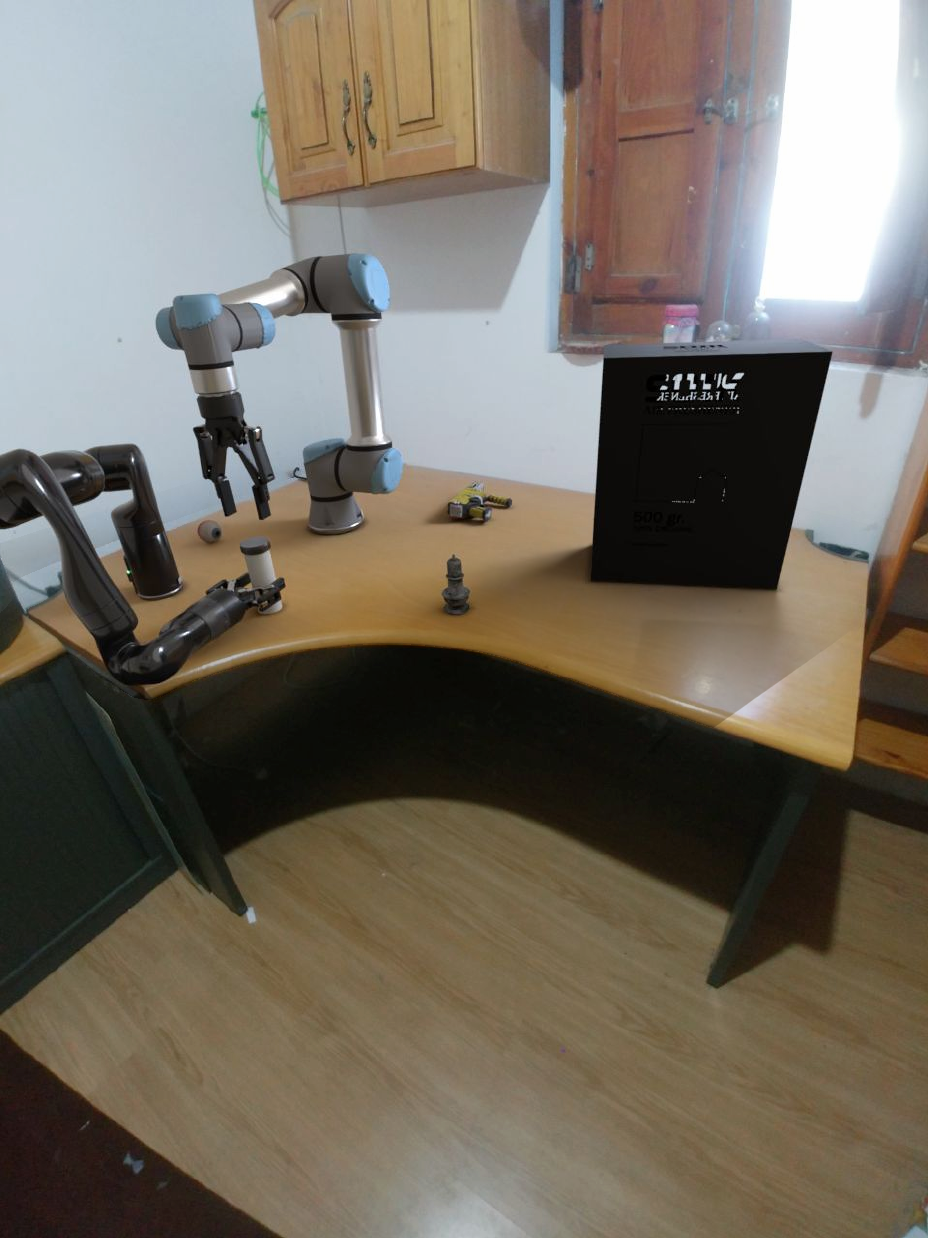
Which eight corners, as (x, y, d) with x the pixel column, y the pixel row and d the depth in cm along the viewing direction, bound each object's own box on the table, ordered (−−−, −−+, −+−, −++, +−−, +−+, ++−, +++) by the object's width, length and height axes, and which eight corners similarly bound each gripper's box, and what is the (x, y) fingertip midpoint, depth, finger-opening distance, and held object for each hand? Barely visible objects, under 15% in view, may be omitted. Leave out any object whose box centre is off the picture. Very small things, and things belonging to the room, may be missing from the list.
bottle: (254, 613, 127) (237, 548, 119) (265, 602, 131) (250, 538, 123) (275, 615, 126) (259, 549, 118) (286, 603, 130) (271, 539, 122)
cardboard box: (756, 549, 141) (800, 338, 118) (776, 589, 124) (832, 351, 101) (592, 544, 148) (604, 344, 126) (590, 580, 131) (603, 357, 109)
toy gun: (520, 486, 181) (473, 479, 185) (498, 510, 161) (445, 501, 165) (519, 501, 183) (472, 494, 187) (496, 526, 163) (445, 518, 167)
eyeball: (211, 547, 159) (205, 526, 156) (196, 543, 162) (190, 522, 159) (229, 539, 163) (224, 518, 160) (214, 536, 166) (209, 515, 164)
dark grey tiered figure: (468, 615, 121) (465, 561, 115) (439, 614, 122) (435, 559, 116) (473, 601, 126) (471, 548, 120) (446, 600, 127) (442, 547, 121)
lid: (235, 554, 120) (233, 547, 119) (250, 543, 124) (248, 535, 124) (261, 556, 118) (259, 548, 118) (275, 544, 123) (274, 536, 122)
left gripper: (238, 603, 108) (291, 566, 121) (177, 593, 113) (234, 558, 126) (247, 638, 112) (298, 599, 125) (188, 627, 117) (243, 590, 130)
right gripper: (278, 389, 106) (302, 513, 117) (188, 388, 113) (219, 505, 124) (251, 397, 100) (279, 527, 111) (157, 396, 107) (193, 518, 118)
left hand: (266, 579), depth 126 cm, fingers open, 8 cm apart
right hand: (247, 515), depth 118 cm, fingers open, 7 cm apart
